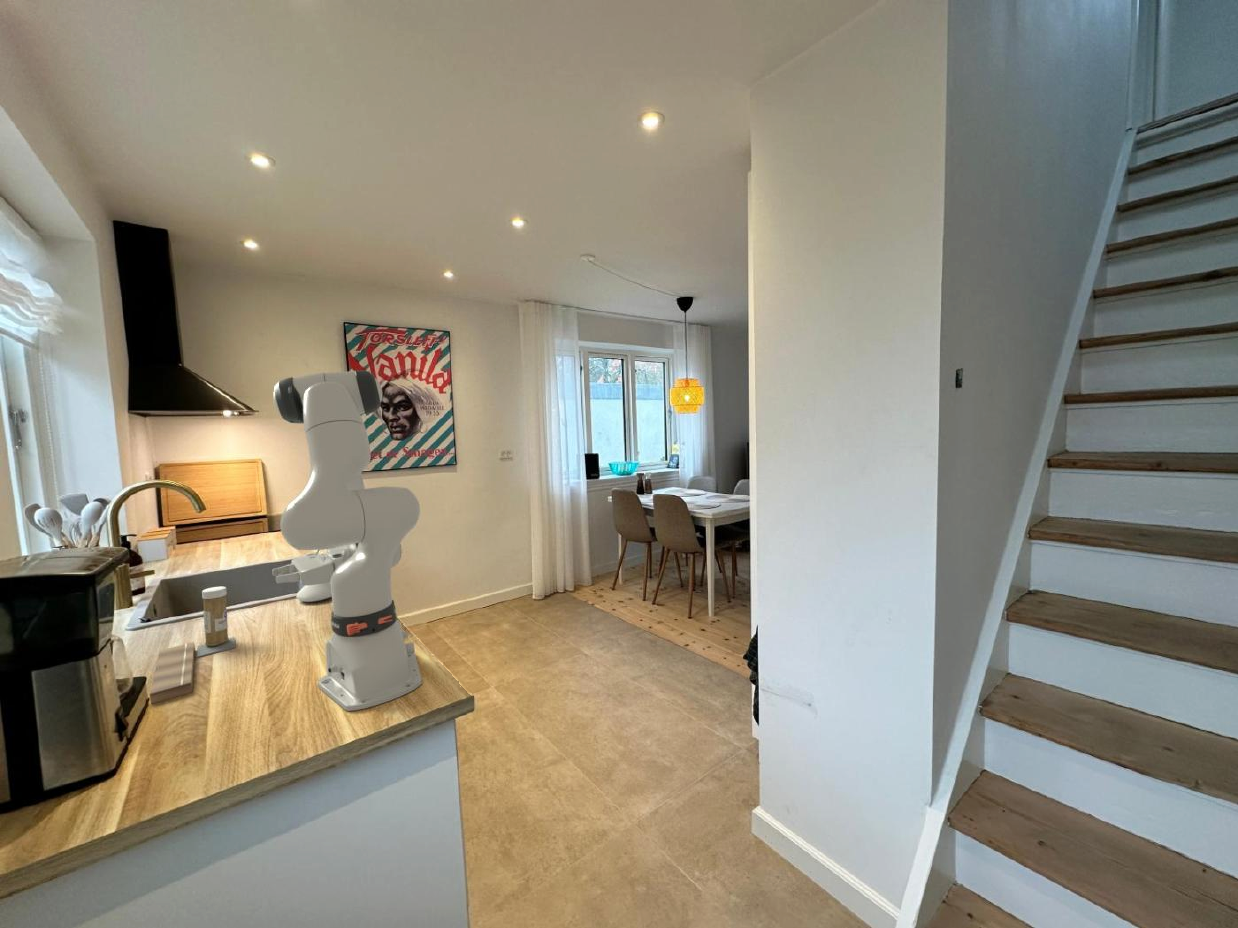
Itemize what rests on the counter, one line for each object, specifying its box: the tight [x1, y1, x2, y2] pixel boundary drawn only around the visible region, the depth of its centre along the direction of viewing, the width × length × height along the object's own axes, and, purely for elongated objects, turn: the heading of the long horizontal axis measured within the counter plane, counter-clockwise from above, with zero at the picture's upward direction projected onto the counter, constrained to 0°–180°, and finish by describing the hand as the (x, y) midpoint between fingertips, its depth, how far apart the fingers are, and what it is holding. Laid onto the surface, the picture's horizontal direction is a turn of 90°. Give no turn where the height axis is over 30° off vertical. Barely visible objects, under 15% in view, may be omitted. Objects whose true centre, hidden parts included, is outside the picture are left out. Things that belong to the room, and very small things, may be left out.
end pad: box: [196, 636, 237, 658], centre depth 118 cm, size 7×7×1 cm
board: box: [149, 641, 196, 705], centre depth 106 cm, size 24×6×2 cm, turn 40°
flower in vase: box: [296, 548, 332, 602], centre depth 148 cm, size 13×11×25 cm
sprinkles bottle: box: [201, 585, 230, 646], centre depth 119 cm, size 5×5×14 cm
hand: (274, 576), depth 123 cm, fingers open, 8 cm apart
